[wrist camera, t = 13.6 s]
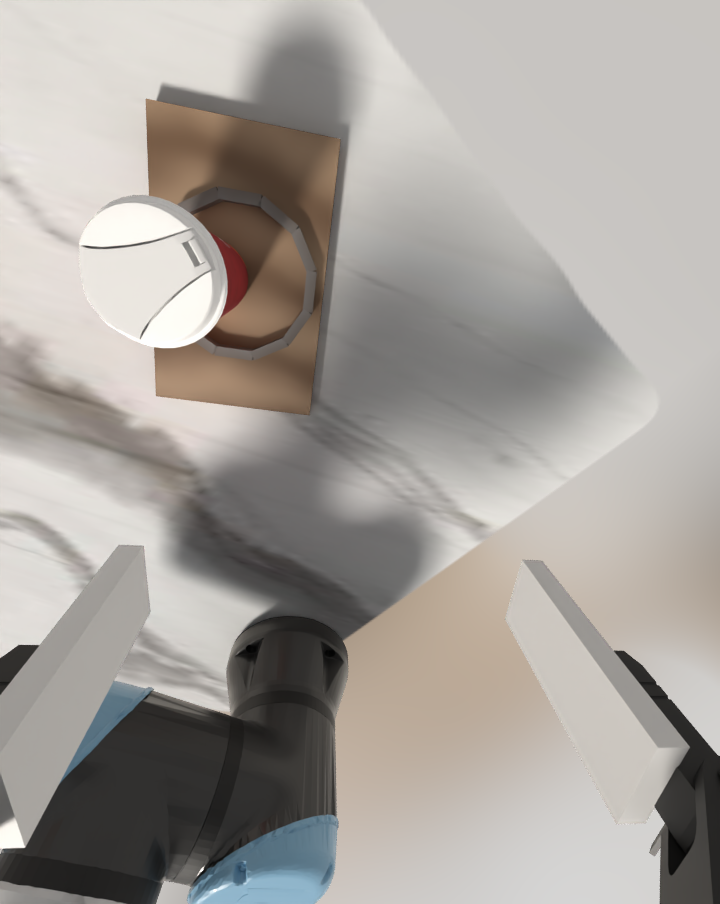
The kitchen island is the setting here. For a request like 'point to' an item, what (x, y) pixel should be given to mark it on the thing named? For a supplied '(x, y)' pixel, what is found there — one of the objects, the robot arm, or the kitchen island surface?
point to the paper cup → (158, 272)
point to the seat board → (249, 251)
